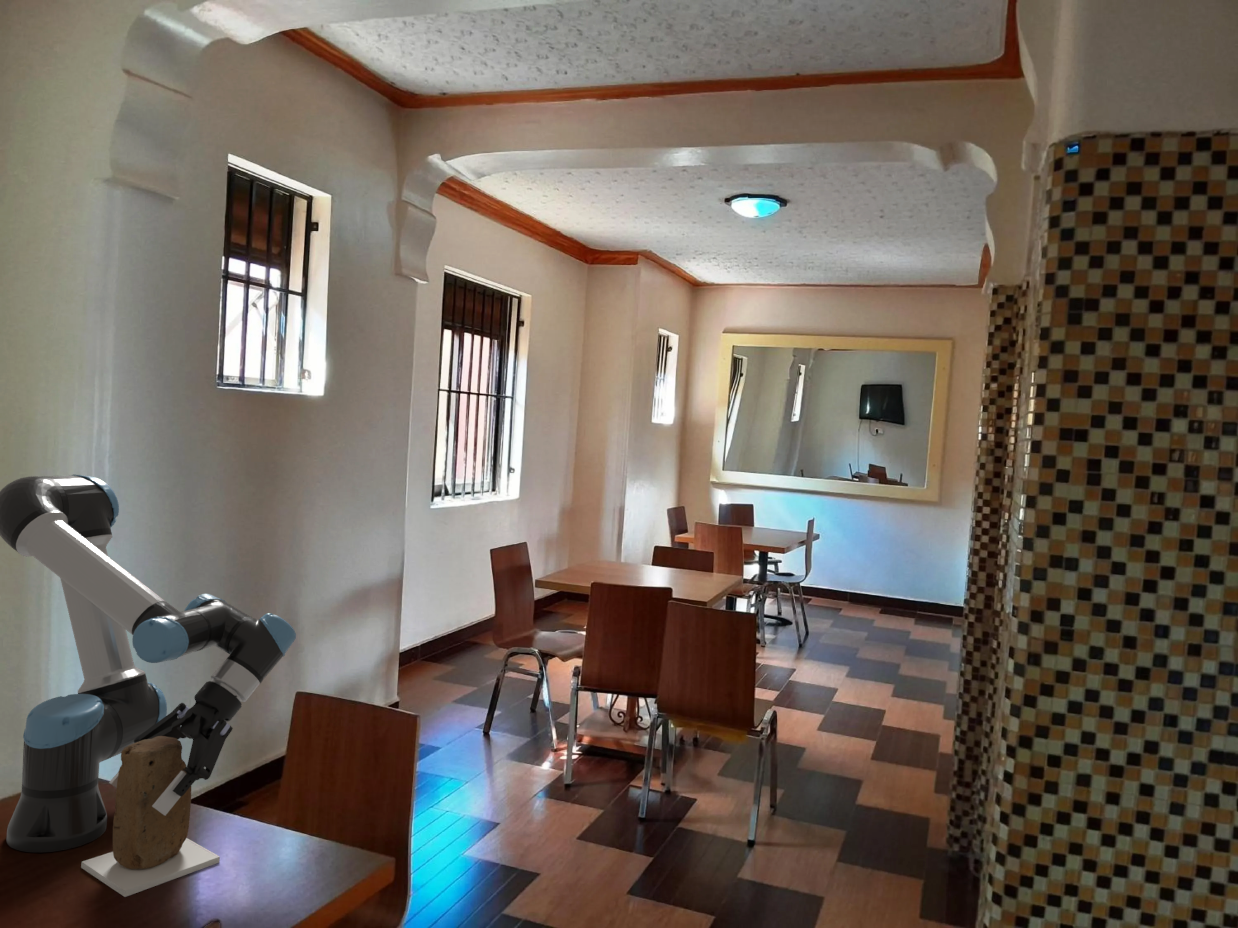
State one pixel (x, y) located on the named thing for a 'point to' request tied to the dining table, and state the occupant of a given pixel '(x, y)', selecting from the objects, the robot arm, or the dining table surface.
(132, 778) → the block
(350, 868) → the dining table surface
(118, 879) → the mat
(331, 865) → the dining table surface
